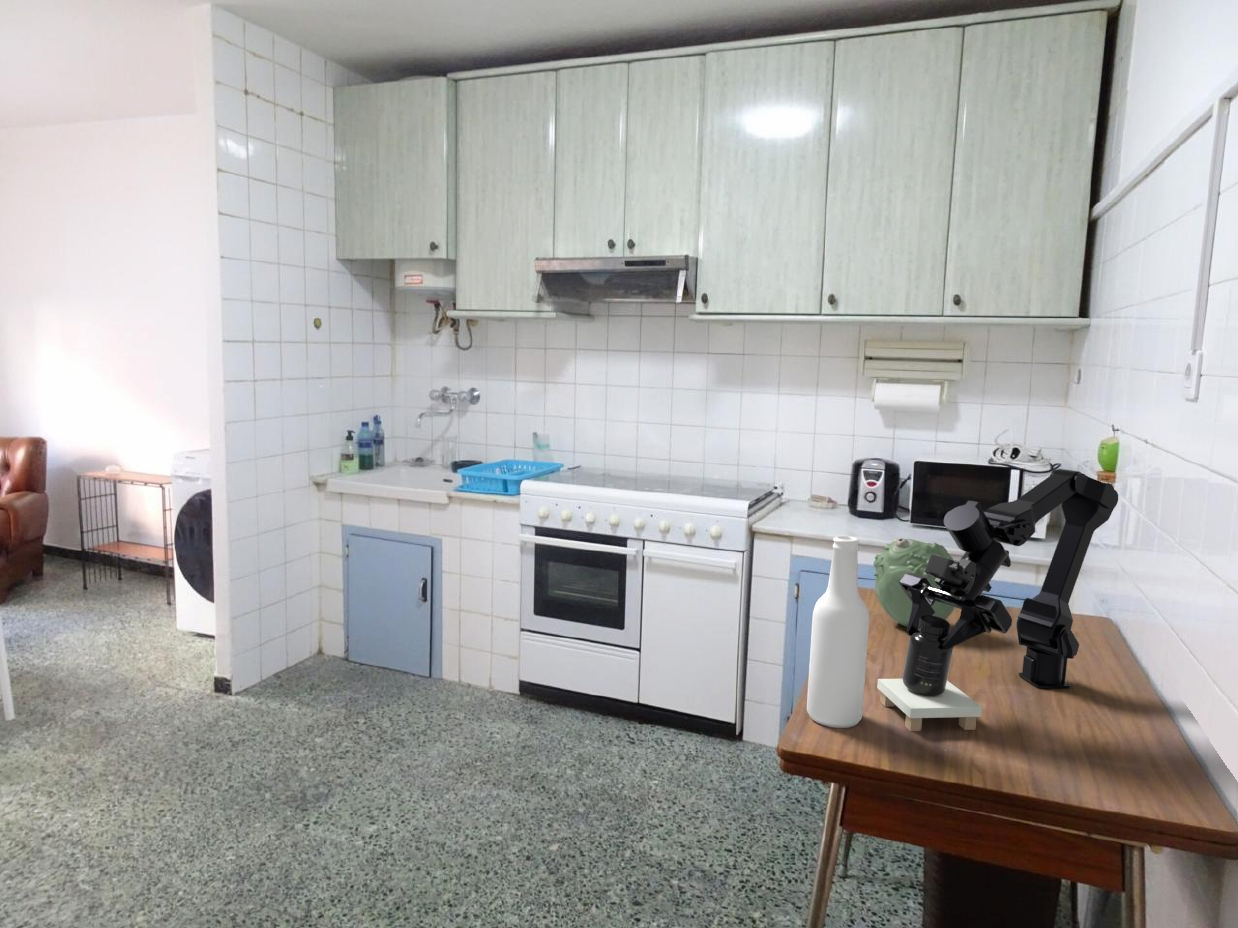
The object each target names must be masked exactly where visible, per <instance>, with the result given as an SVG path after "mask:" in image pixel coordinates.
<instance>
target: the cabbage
mask: <svg viewBox="0 0 1238 928" xmlns="http://www.w3.org/2000/svg"><path fill="white" fill-rule="evenodd" d="M883 549H884V550H882V551H881V554H876V555H875V556H874V561H873V567H874V568H875V573H874V574H873V575H872V576H873V577H874V578H875V579H874V580H875V583H874V590H875V593H876V597H877V599H878V602H879V603H880V605H881V608H883V610H884V612H885V613H886V614H887V616H889V618H890V619H891V620H893V621H894V622H896V623H898V624H900V625H902V626H904V627H906V628H907V627H908V623H909V619H910V615H911V610H912V601H911V600H910V599H909V597H908V596H907V594H906V593H905V592H904V590H903V589H902V587H901V586H900V584H899V582H900V580H901V579H902V578H903V576H904V575H905V574H908V573H911V574H915V575H918V576H921V577H925V578H927V580H928V581H929V583H930V584H931V586H932V587H933V588H935V589H938V590H940V588H941V587H940V586H939V585H937V584H936V582H935V579H936V577H934V576H933V575H931V574H927V573H925V569H926V567H927V564H928V562H929V559H930V557H931V555H936V556H940V557H943V558H947V559H951V560H954V558H953V557H952V555H951V554H950V553H948V550H947V549H946V547H945V546H944V545H943V544H939V543H937V542H933V543H931V542H927V543H926V542H924V541H920V540H917V539H912V538H911V539H910V538H895V539H893V540H892V541H890V543H886V545H885V546H884V547H883ZM931 607H932V608H933V610H934V611H935V613H934V614H933V615H932V616H937V617H940V618H943V619H945V620H947V619H948V618H949V617H950V616H951V615H952V614H953V612H954V611H955V609H956V607H953V606H950V605H947V604H944V603H941V602H938V601H935V603H934V604H933V605H932V606H931Z"/></svg>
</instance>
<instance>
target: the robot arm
mask: <svg viewBox="0 0 1238 928" xmlns="http://www.w3.org/2000/svg"><path fill="white" fill-rule="evenodd" d="M1118 503H1119V494H1118V491H1117V490H1116V489H1115V488H1114V485H1113V484H1111V483H1109V482H1103V481H1101V480H1098V479H1095V478H1092V477H1090V476H1088V475H1087V474H1085V473H1082V471H1079V470H1072V469H1063V468H1058V469H1053V470H1052V471H1051V472H1050V475H1049V476H1048V477H1046V478H1045V479H1044V480H1042V481H1041V482H1039V483H1038V484H1036V486H1034V487H1032V488H1030V490H1028V491H1027V492H1026V493H1024V494H1023V495H1021V496H1020V497H1019V498H1017V499H1014V500H1013V501H1007V502H1001V503H997V504H995V505H993V506H991V507H988V508H987V509H986V510H985V511H984V509H983V506H982V504H981V503H980V502H979V501H975V500H974V501H973V500H967V502H966V503H965V504H963V505H959V506H956V507H954V508H953V509H951V510H949V511H947V512H946V514H945V515H944V518H943V524H944V527H945V528H946V530H947V531H948V533H949V535H950V536H951V537H952V539H953V541H954V542H955V544H956V546H957V547H958V548H959V549H960V550H961V551H963V552H964V554H963V555H962V556H961V558H960V559H959V560H956V559H953V560H951V559H947V558H943V557H940V556H936V555H931V557H930V559H929V562H928V564H927V567H926V569H925V573H927V574H931V575H933V576H934V577H936V579H935V582H936V584H937V585H939V586H940V587H941V588H940V590H938V589H935V588H933V587H932V586H931V584H930V583H929V581H928V580H927V578H925V577H921V576H918V575H915V574H911V573H908V574H905V575H904V576H903V578H902V579H901V580H900V582H899V584H900V586H901V587H902V589H903V590H904V592H905V593H906V594H907V596H908V597H909V599H910V600H911V601H912V610H911V615H910V619H909V623H908V627H906V635H908V637H910V636H911V634H912V633H913V632H914V631H916V630H918V624H919V619H920V617H922V616H925V615H931V616H932V615H933V614H934V613H935V611H934V610H933V608H932V607H931V606H932V605H933V604H934V603H935V601H938V602H941V603H944V604H947V605H950V606H953V607H955V609H956V608H957V609H959V610H960V616H959V617H958V620H957V621H956V622H955V624H954V625H953V627H952V628H951V629H950V633H949V634H948V636H947V637H946V639H945V641H944V643H943V645H942V647H943V648H944V649H945V650H948V649H950V648H952V647H953V648H954V647H955V646H957V645H959V644H961V643H963V642H966V641H968V640H970V639H972V638H974V637H976V636H979V635H982V634H984V633H988V634H990V633H991V632H992V631H995V632H997V633H1001V634H1007V633H1008V631H1009V630H1010V628H1011V626H1012V623H1013V619H1012V616H1011V614H1010V613H1009V610H1008V609H1007V608H1006V606H1005V605H1004V603H1003V601H1002V600H1000V599H998V598H994V597H990V596H988V595H984V594H982V593H983V592H987V593H989V592H990V591H991V589H992V588H993V587H992V586H991V584H990V582H991V580H992V579H993V578H994V576H995V575H996V573H997V572H998V570H999V569H1000V567H1001V566H1002V567H1006V568H1010V567H1011V565H1012V564H1011V563H1012V561H1011V557H1010V551H1009V550H1006V549H1005V547H1004V546H1003V544H1006V545H1011V546H1013V547H1021V546H1023V545H1024V544H1026V542H1028V540H1030V538H1031V537H1032V536H1033V535H1034V534H1035V533H1036V524H1037V523H1038V522H1039V521H1040V520H1041V519H1043V518H1044V517H1045V516H1046V515H1048V514H1049V513H1051V512H1052V511H1053V510H1055V509H1056V508H1058V507H1059V506H1060V505H1061V506H1060V507H1061V510H1062V514H1063V516H1064V517H1063V518H1064V523H1063V527H1062V529H1061V530H1062V531H1061V532H1060V536H1059V537H1058V542H1057V543H1056V547H1055V549H1054V552H1053V555H1052V558H1051V561H1050V564H1049V566H1048V568H1047V569H1048V570H1047V572H1046V576H1045V577H1044V581H1043V582H1042V585H1041V588H1040V591H1039V593H1038V594H1036V595H1035V596H1034V597H1033V598H1030V597H1026V598H1025V599H1024V601H1023V603H1022V606H1021V610H1020V611H1019V614H1018V615H1017V620H1016V632H1017V638H1018V640H1017V641H1018V645H1019V646H1024V647H1026V649H1025V651H1026V652H1025V655H1023V660H1022V661H1023V662H1022V669H1021V670H1022V671H1021V672H1018V676H1019V677H1020V678H1022V679H1023V680H1025V681H1027V682H1028V683H1030V684H1031V685H1033V686H1035V687H1036V688H1038V689H1065V688H1066V689H1068V688H1070V689H1071V687H1072V686H1071V684H1070V683H1068V682H1067V681H1066V676H1067V666H1068V659H1074V658H1075V656H1077V654H1078V651H1079V648H1080V642H1079V641H1078V639H1077V638H1076V637H1075V634H1074V633H1073V631H1072V625H1073V621H1074V619H1073V615H1072V612H1071V609H1070V601H1071V597H1072V594H1073V591H1074V589H1075V586H1076V584H1077V580H1078V578H1079V574H1080V572H1081V569H1082V567H1083V564H1084V560H1085V557H1086V555H1087V553H1088V552H1087V551H1088V549H1089V546H1090V545H1091V540H1092V537H1093V536H1094V535H1093V534H1094V532H1095V531H1096V530H1097V529H1098V528H1100V527H1101V526H1102V525H1103V524H1105V523H1106V522H1108V521H1109V519H1110V517H1111V515H1112V513H1113V511H1114V509H1115V508H1116V507H1117V505H1118Z"/></svg>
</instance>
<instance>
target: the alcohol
mask: <svg viewBox="0 0 1238 928" xmlns="http://www.w3.org/2000/svg"><path fill="white" fill-rule="evenodd" d="M832 540H833V544H832V549H833V550H832V556H831V557H832V558H831V562H830V568H829V569H830V570H829V576H828V577H829V578H828V582H827V588H826V591H825V592H824V593H823V595H822V596H821V597H819V598H818V600H817V601H816V603H815V605H814V608H813V611H812V618H811V619H812V621H811V636H810V637H811V638H810V653H809V668H808V681H807V697H806V699H807V700H806V712H807V713H808V715H809V718H811V720H812V721H814V722H815V723H818V724H819V725H822V726H825V727H827V728H828V727H829V728H832V729H833V728H834V729H846V728H847V729H848V728H853V727H855V726H857V724H859V722H860V721H861V720H862V718H863V709H864V697H865V696H864V693H865V684H866V681H865V680H866V671H867V670H866V665H867V653H868V641H869V629H870V628H869V627H870V614H869V609H868V606H867V605H866V603H865V602H864V601H863V599H862V598H861V597H860V592H859V578H858V577H859V574H858V573H859V572H858V571H859V569H858V567H859V565H858V559H859V557H858V554H859V553H858V551H859V544H860V540H859V539H858V538H857V537H855V536H850V535H837V536H835V537H833V539H832Z"/></svg>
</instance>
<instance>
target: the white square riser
mask: <svg viewBox="0 0 1238 928" xmlns="http://www.w3.org/2000/svg"><path fill="white" fill-rule="evenodd" d="M876 685H877V686H876V688H877V689H878V690H879V691H880V702H879V703H880V704H881V705H882V706H883V707H884V708H885V707H888V708H891V707H897V708H898V709H899V710H900V711H902V712H903V713H904V714H905V724H904V726H905V727H906V728H907V729H908V731H910V732H921V731H922V725H923V724H922V723H923V719H924V718H925V719H929V718H930V719H934V718H935V719H937V718H941V719H942V718H959V719H958V725H959V726H960V727H961V728H962V729H963V730H965V731H967V730H968V731H971V730H972V731H973V730H976V726H977V717H981V718H982V713H983V706H982V705H980V704H979V703H978V702H976V701H975V700H973V699H972V698H971V697H970V696H968V695H967V694H966V693H964V692H963V691H962V690H960V689H959V688H958V687H956V686H955V685H954V684H952V683H951V682H950V681H949V680H947V683H946V688H945V691H944V692H943V693H942V694H941V695H938V696H924V695H920V694H917V693H915V692H913V691H911V690H909V689H908V688H907V687H906V686H905V685H904V683H903V678H878V679H877V684H876Z"/></svg>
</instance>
